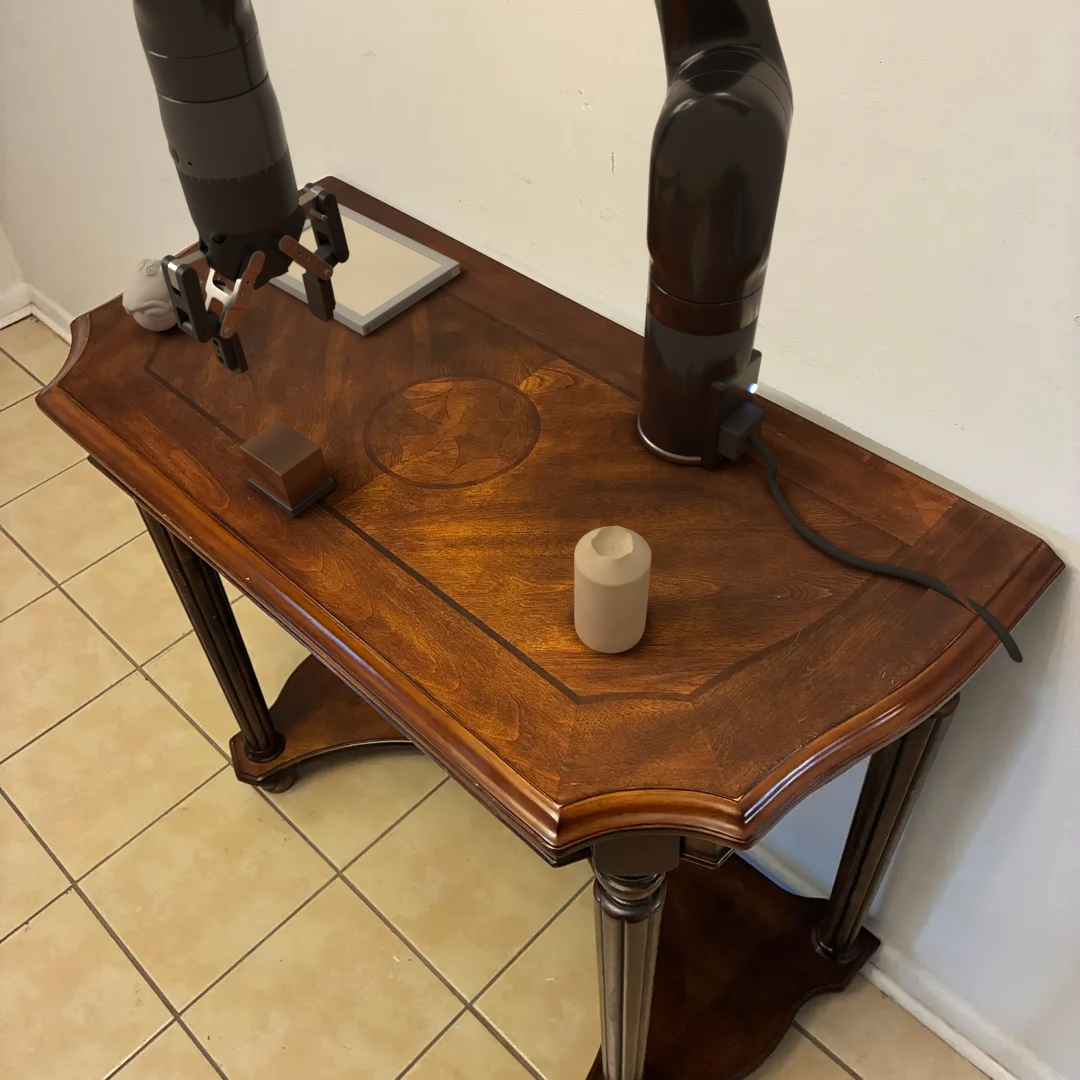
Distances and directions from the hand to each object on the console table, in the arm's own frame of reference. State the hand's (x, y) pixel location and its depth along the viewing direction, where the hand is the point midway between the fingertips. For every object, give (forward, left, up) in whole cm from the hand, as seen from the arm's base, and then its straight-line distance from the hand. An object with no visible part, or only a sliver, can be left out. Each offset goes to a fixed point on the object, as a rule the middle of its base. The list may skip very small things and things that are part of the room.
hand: (281, 341), depth 78 cm
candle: (-31, -3, -15) cm, 34 cm away
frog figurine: (+29, -4, -15) cm, 33 cm away
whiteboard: (+21, -23, -15) cm, 35 cm away
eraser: (0, +3, -15) cm, 15 cm away
